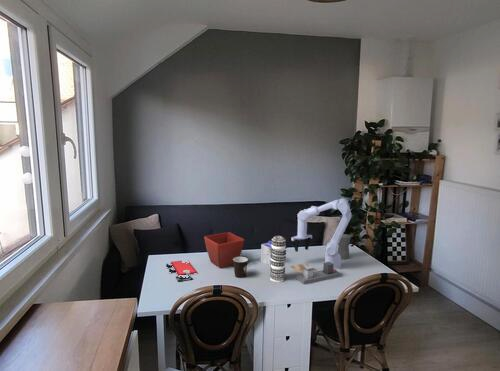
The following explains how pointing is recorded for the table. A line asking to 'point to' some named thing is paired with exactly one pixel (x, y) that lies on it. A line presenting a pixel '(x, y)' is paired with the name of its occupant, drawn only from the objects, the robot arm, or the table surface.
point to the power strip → (318, 276)
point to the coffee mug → (240, 266)
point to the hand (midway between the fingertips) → (301, 250)
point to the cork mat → (300, 267)
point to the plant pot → (223, 248)
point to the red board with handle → (182, 269)
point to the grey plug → (308, 272)
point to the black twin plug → (328, 268)
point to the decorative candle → (278, 259)
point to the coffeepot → (345, 245)
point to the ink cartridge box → (266, 253)
